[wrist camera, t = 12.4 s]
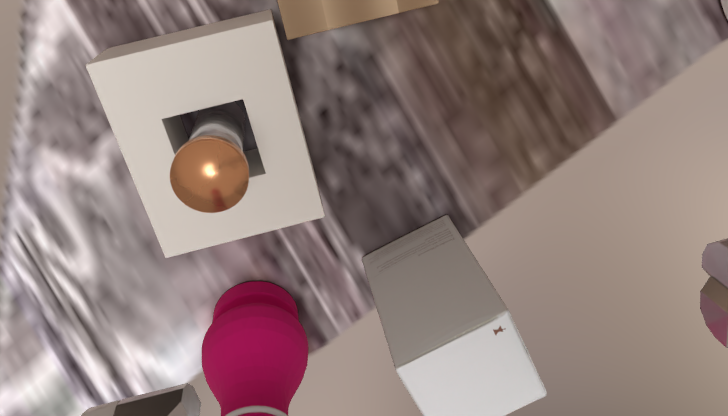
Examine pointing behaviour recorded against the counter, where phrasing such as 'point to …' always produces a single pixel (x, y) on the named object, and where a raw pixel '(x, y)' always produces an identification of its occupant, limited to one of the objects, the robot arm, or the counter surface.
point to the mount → (338, 13)
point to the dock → (199, 91)
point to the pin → (212, 161)
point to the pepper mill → (255, 350)
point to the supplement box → (449, 326)
